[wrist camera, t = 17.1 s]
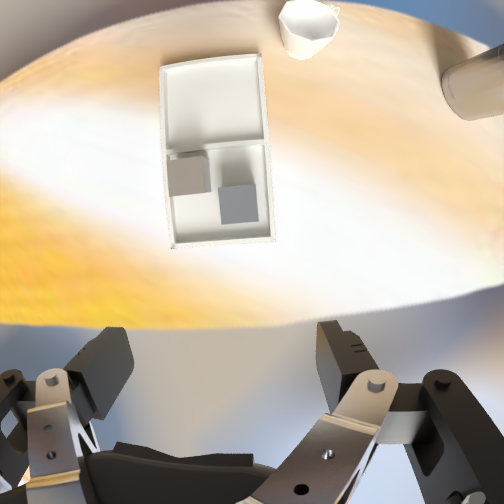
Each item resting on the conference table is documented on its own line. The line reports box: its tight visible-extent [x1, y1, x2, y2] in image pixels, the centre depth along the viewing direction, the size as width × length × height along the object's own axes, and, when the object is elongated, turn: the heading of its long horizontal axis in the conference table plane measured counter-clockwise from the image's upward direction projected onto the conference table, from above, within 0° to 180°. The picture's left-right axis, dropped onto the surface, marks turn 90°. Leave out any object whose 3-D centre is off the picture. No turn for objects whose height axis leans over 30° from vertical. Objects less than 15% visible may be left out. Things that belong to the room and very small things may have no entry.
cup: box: [278, 0, 340, 60], centre depth 27 cm, size 7×10×8 cm
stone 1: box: [166, 156, 212, 197], centre depth 32 cm, size 4×4×5 cm
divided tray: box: [159, 53, 276, 249], centre depth 33 cm, size 13×24×2 cm, turn 4°
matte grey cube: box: [218, 184, 259, 225], centre depth 33 cm, size 4×4×5 cm
